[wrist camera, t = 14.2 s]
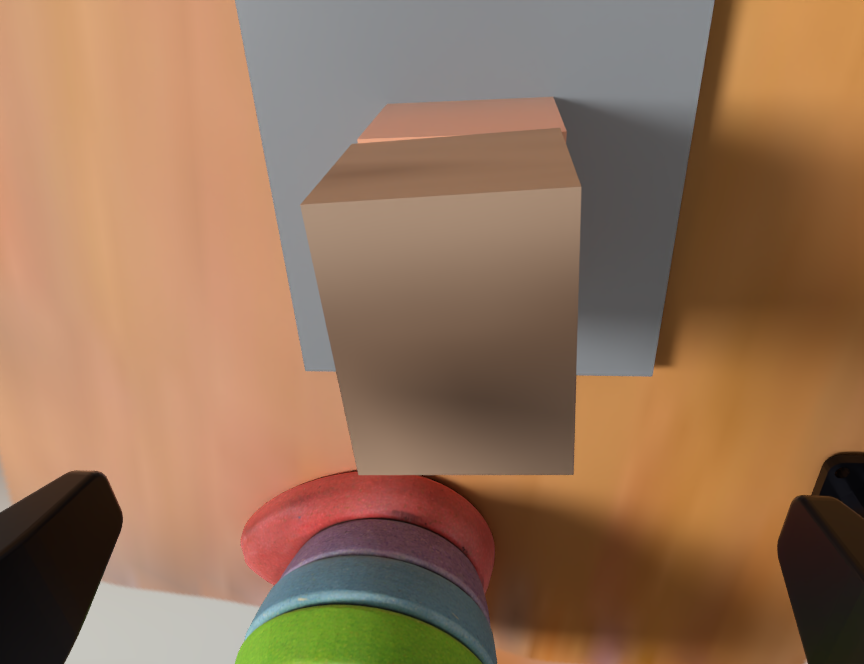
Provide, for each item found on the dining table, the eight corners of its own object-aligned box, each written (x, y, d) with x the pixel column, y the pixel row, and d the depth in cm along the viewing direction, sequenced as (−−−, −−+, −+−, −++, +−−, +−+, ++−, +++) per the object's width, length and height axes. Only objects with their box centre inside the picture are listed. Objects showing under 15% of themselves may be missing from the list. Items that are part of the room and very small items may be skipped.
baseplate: (647, 363, 21) (652, 376, 20) (311, 358, 22) (305, 370, 22) (711, -43, 15) (722, -44, 14) (243, -16, 16) (232, -16, 16)
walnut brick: (558, 364, 16) (573, 474, 12) (388, 369, 16) (358, 475, 13) (560, 127, 13) (581, 186, 9) (351, 143, 13) (300, 204, 10)
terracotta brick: (544, 296, 19) (553, 367, 16) (404, 297, 20) (384, 366, 16) (553, 96, 16) (566, 131, 13) (386, 104, 17) (357, 139, 13)
